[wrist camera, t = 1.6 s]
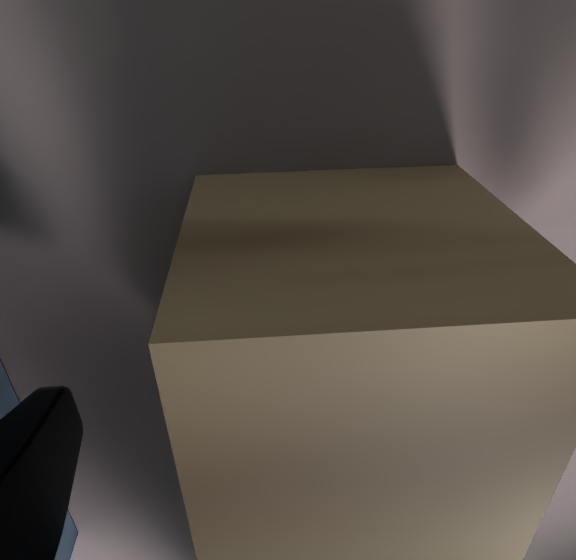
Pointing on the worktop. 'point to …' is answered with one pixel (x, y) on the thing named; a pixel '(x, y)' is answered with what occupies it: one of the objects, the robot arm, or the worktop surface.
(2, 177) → the worktop surface
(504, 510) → the cube
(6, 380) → the tote
